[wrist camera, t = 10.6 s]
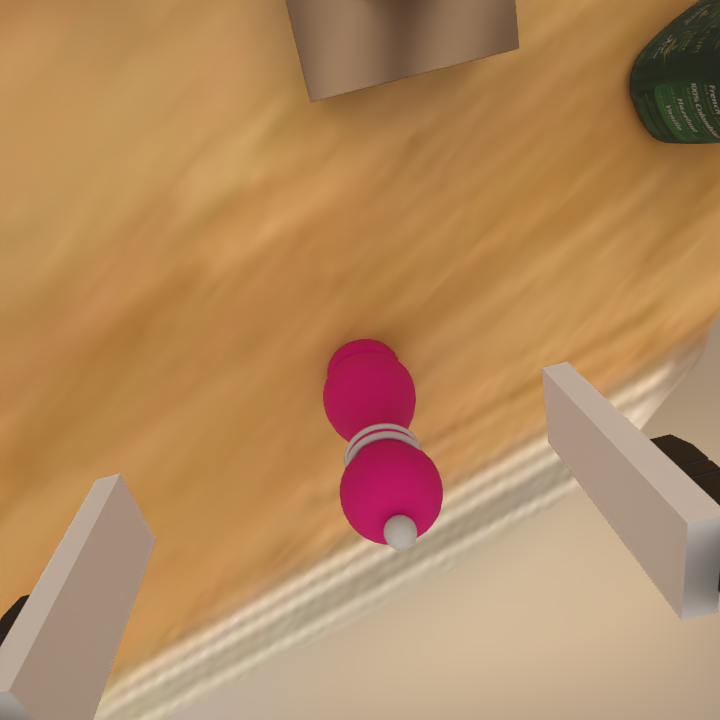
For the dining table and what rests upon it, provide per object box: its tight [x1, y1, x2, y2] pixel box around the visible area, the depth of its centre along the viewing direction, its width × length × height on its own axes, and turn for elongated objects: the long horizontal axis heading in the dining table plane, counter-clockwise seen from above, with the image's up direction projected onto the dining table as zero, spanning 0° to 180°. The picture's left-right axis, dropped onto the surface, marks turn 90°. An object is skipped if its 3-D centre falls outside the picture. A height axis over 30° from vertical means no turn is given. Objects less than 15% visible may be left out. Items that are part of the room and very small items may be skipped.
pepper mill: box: [323, 340, 443, 550], centre depth 36 cm, size 7×7×20 cm
